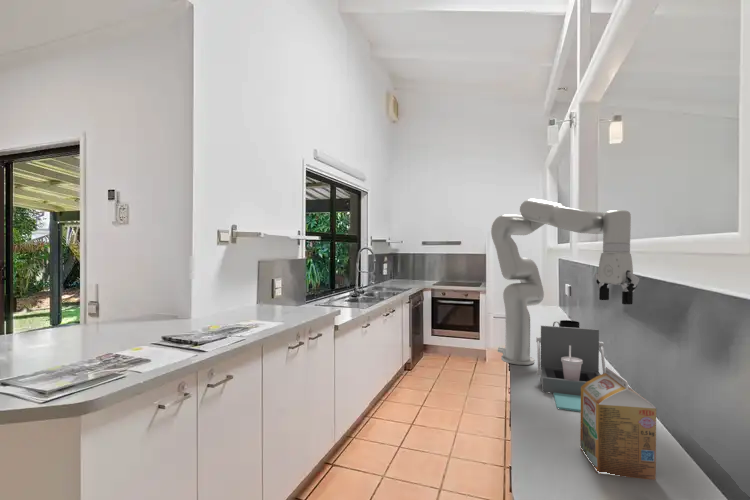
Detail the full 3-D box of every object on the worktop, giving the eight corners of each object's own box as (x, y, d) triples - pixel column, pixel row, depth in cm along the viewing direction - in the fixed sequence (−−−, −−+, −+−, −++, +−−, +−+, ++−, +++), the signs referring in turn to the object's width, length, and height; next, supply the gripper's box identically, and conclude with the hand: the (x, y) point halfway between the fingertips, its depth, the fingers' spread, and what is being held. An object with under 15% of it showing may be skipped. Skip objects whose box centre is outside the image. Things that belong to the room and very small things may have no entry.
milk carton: (655, 479, 79) (656, 383, 79) (597, 474, 80) (598, 380, 80) (631, 453, 89) (631, 367, 89) (580, 448, 91) (581, 365, 91)
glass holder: (568, 360, 163) (568, 324, 163) (544, 352, 177) (545, 318, 177) (585, 359, 166) (586, 323, 166) (561, 350, 179) (561, 317, 179)
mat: (557, 408, 113) (557, 406, 113) (553, 394, 125) (553, 392, 125) (605, 415, 109) (605, 412, 109) (596, 399, 121) (596, 397, 121)
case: (538, 391, 127) (538, 333, 127) (536, 377, 142) (536, 325, 142) (612, 400, 120) (613, 339, 120) (602, 384, 135) (602, 329, 135)
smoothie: (558, 384, 134) (558, 342, 134) (579, 386, 133) (579, 344, 133) (563, 391, 128) (563, 347, 128) (585, 392, 126) (585, 348, 126)
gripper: (587, 248, 136) (586, 298, 137) (627, 249, 119) (626, 306, 120) (606, 248, 138) (605, 298, 138) (649, 249, 121) (648, 305, 121)
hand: (615, 302), depth 129 cm, fingers open, 9 cm apart
